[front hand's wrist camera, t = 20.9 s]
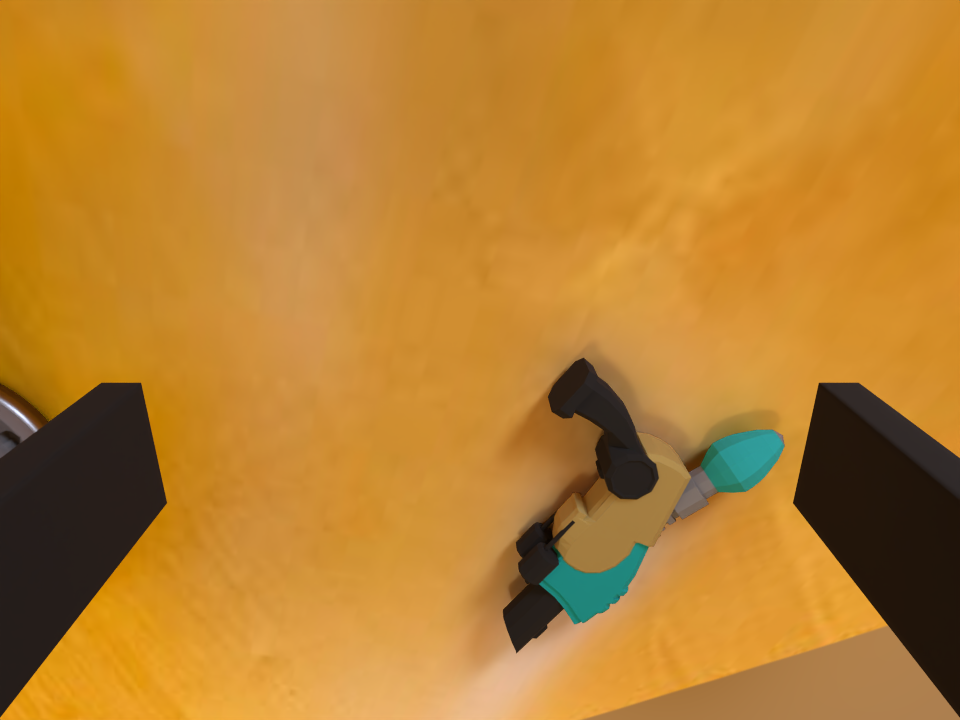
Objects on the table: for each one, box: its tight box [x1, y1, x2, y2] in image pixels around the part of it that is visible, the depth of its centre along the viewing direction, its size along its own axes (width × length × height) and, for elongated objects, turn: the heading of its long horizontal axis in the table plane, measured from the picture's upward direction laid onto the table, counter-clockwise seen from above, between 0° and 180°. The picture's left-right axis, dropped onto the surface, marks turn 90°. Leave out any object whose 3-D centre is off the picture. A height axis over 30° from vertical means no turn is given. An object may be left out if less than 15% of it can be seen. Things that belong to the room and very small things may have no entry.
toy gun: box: [503, 358, 785, 653], centre depth 46 cm, size 4×26×15 cm
